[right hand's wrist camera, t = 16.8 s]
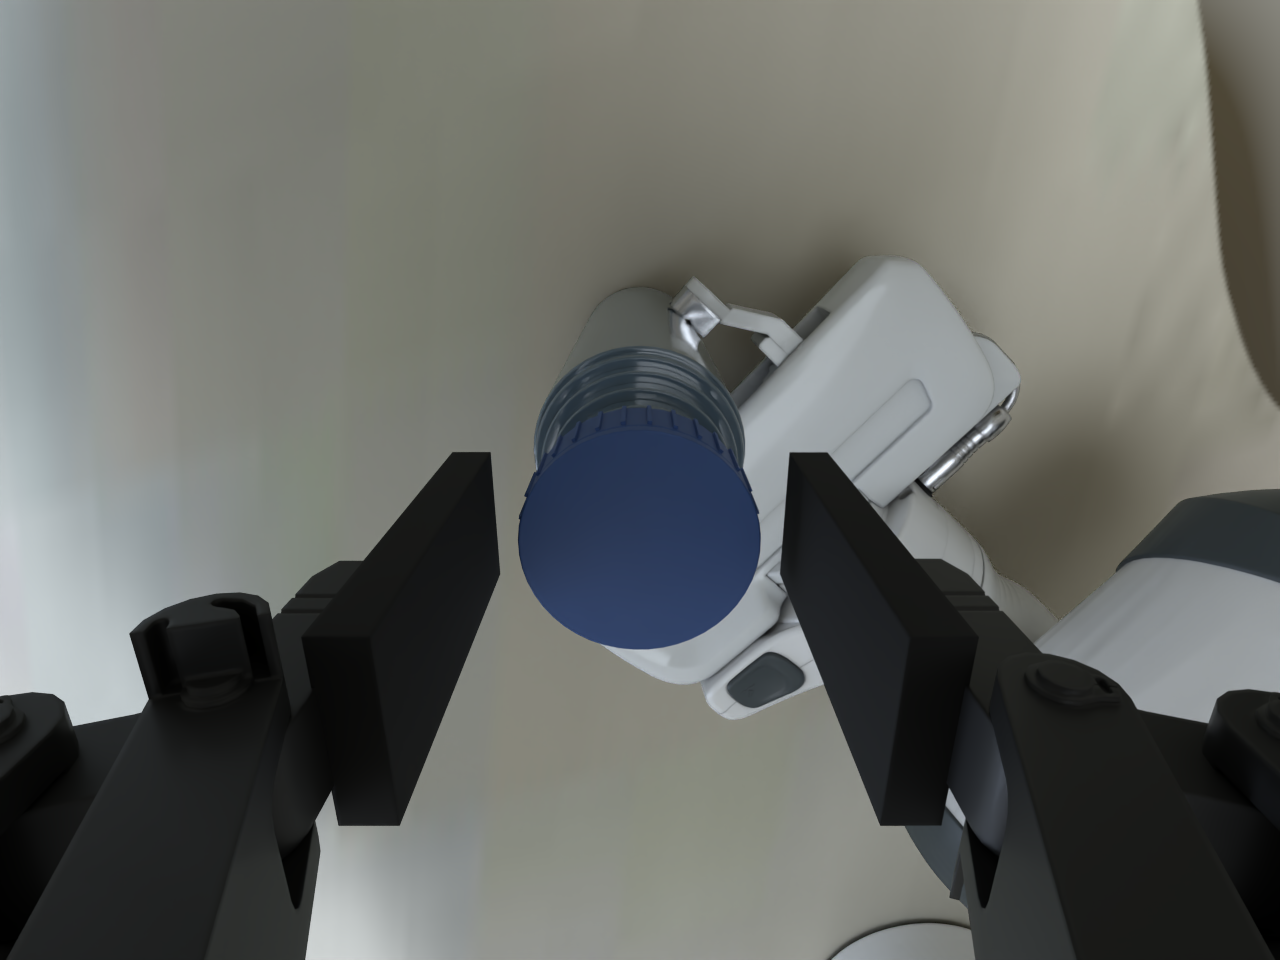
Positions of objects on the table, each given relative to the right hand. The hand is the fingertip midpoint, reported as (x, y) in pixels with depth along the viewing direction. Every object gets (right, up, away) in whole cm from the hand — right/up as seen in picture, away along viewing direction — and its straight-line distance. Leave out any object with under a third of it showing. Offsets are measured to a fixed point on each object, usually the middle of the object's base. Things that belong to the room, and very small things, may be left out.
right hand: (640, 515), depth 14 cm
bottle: (0, +7, +20) cm, 21 cm away
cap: (0, 0, -1) cm, 1 cm away
